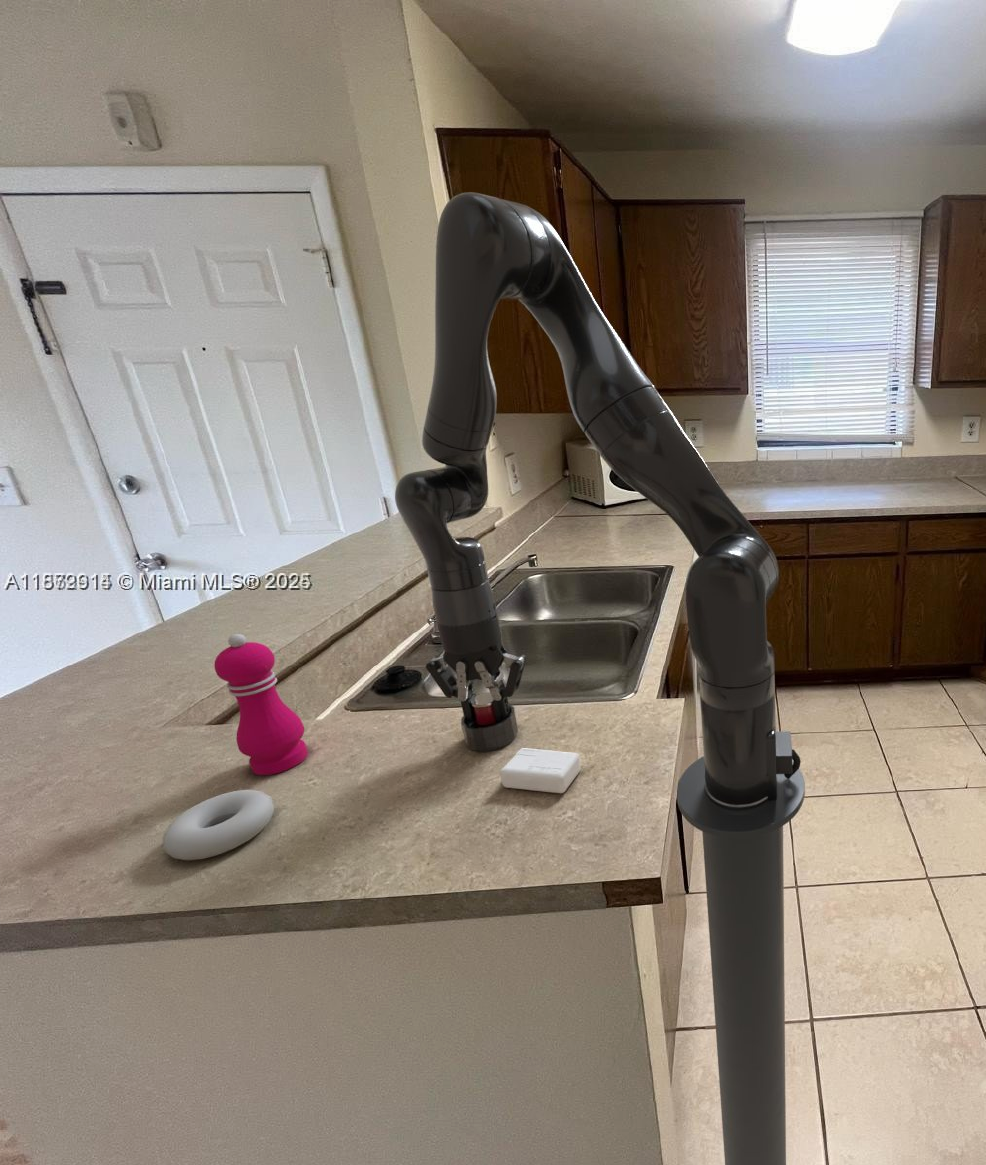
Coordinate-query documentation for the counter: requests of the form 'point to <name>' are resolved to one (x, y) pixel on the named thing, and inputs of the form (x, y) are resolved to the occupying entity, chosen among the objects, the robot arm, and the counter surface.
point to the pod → (484, 709)
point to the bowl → (490, 733)
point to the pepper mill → (260, 708)
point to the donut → (218, 825)
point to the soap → (541, 770)
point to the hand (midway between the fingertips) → (488, 718)
